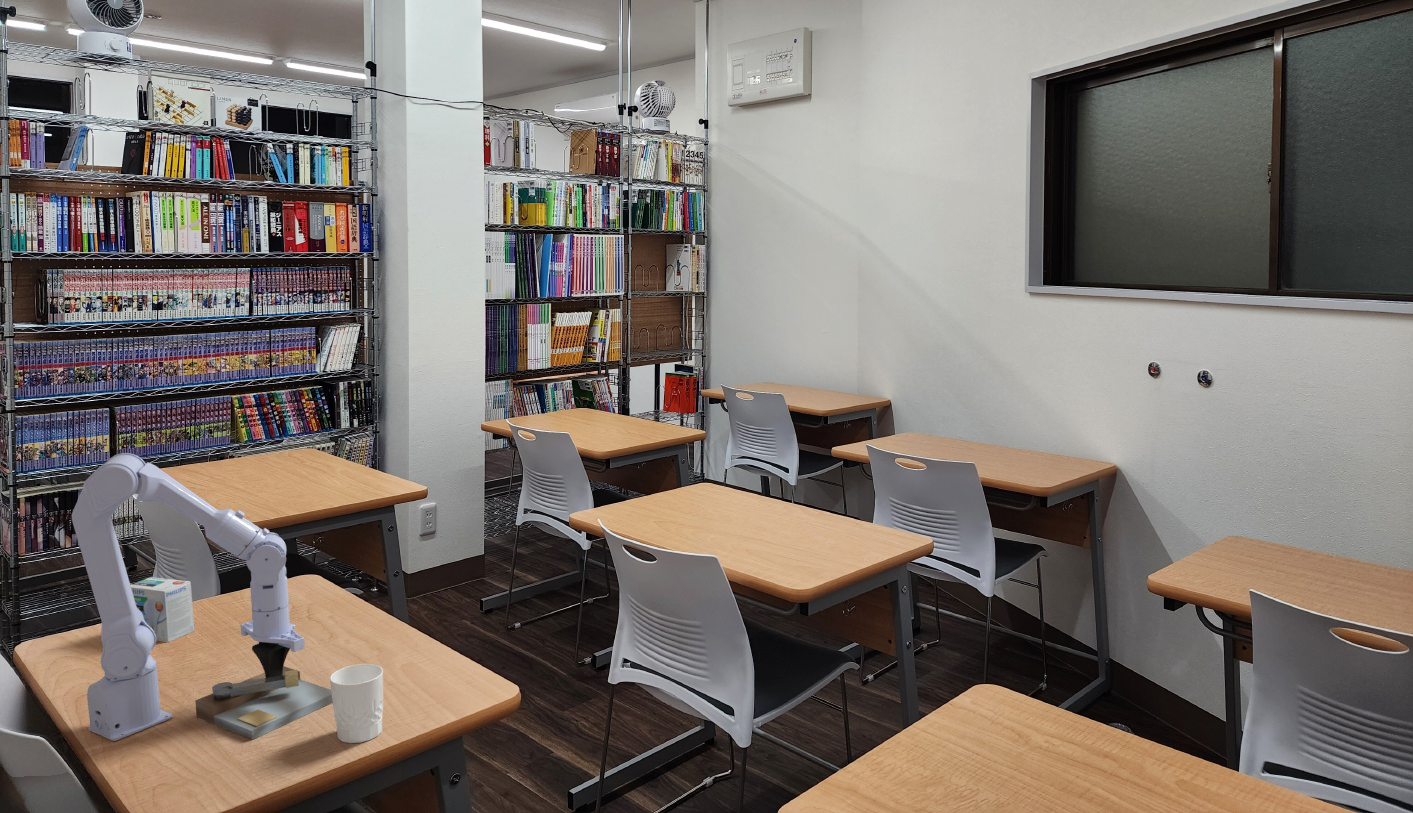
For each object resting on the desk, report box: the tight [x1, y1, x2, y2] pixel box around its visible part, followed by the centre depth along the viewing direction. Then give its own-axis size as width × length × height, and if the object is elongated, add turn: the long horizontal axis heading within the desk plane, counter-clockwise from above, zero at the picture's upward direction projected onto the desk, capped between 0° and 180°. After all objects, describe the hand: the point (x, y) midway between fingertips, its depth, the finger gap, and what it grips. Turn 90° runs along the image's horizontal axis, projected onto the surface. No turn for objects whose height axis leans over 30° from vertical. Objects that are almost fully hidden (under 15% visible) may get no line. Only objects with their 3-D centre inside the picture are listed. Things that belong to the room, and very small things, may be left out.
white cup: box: [329, 663, 384, 744], centre depth 148 cm, size 8×8×10 cm
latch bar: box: [211, 669, 299, 700], centre depth 157 cm, size 13×3×2 cm, turn 115°
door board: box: [194, 666, 333, 741], centre depth 157 cm, size 16×15×3 cm
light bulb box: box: [130, 576, 195, 643], centre depth 190 cm, size 11×7×11 cm, turn 73°
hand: (274, 682), depth 160 cm, fingers closed, pressing on latch bar
